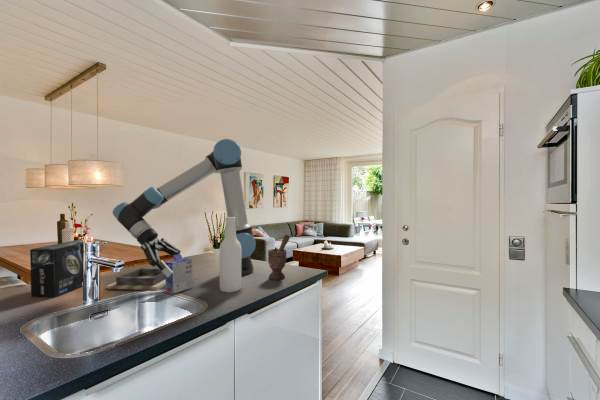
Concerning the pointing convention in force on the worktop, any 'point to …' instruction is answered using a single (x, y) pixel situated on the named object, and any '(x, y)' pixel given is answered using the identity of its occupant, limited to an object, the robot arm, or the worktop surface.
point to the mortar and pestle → (278, 260)
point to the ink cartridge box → (179, 275)
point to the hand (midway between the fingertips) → (179, 270)
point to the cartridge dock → (140, 280)
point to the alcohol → (230, 259)
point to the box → (56, 269)
